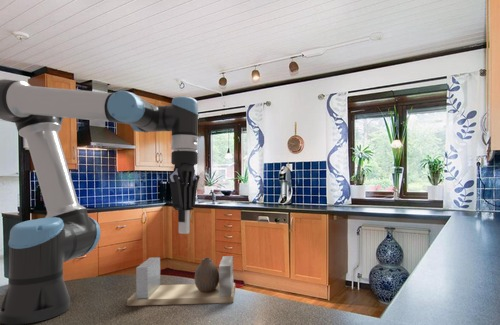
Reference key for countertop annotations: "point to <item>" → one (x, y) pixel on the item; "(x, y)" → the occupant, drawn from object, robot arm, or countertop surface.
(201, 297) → the vise
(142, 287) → the block
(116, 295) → the countertop surface
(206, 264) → the vase
